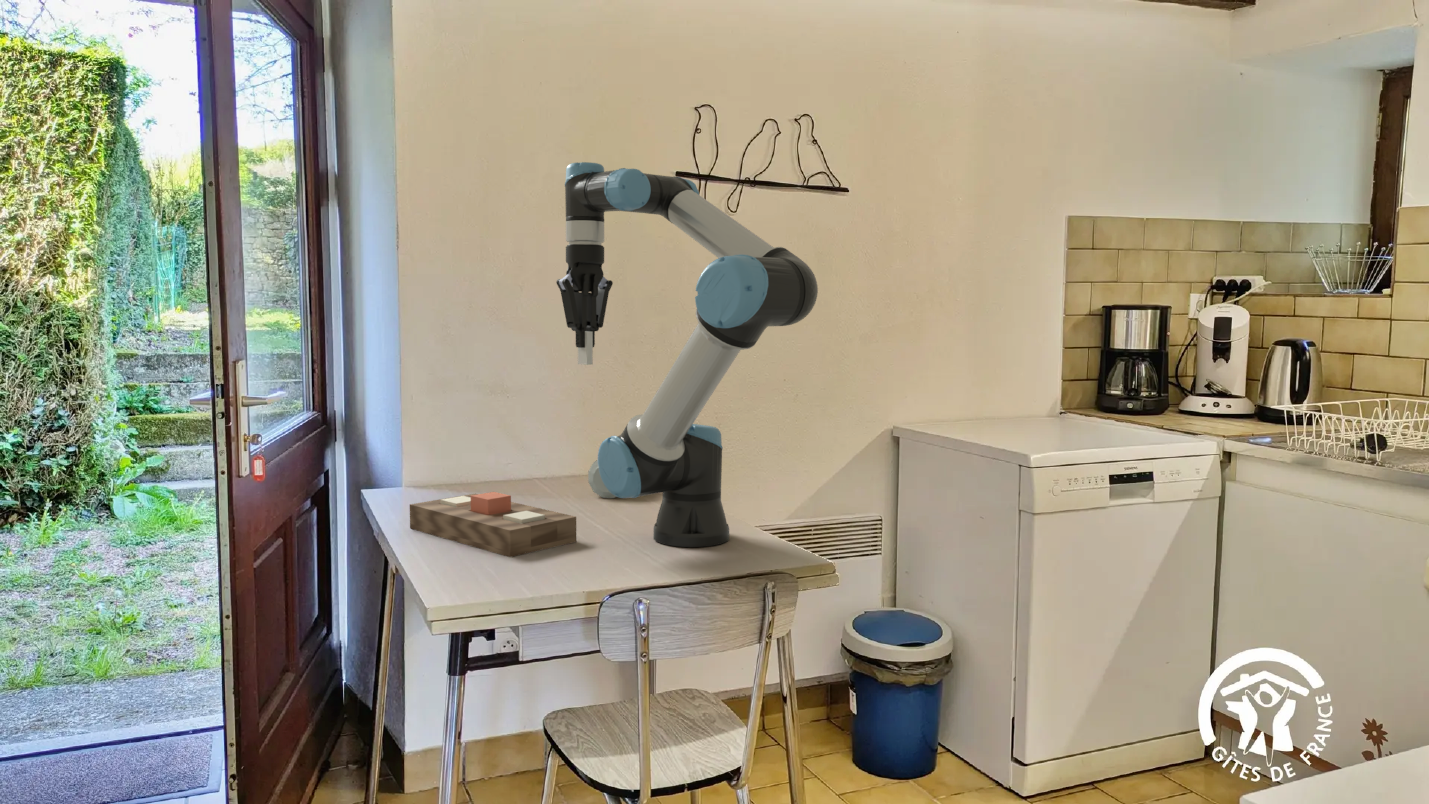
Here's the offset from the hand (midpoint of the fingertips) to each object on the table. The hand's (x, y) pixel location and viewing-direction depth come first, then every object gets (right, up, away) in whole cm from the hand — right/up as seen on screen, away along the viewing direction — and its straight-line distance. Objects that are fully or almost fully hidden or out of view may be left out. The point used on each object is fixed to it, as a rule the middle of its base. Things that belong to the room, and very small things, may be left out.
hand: (585, 364), depth 198 cm
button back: (-27, -32, +9) cm, 43 cm away
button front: (-11, -34, -5) cm, 36 cm away
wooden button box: (-19, -34, +2) cm, 39 cm away
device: (+3, -29, +53) cm, 61 cm away
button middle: (-19, -31, +2) cm, 36 cm away
